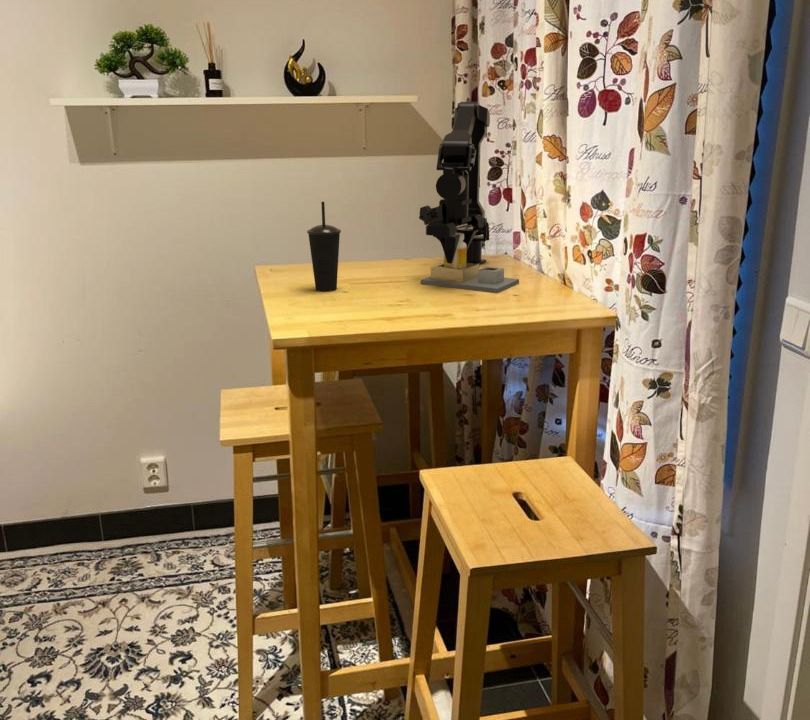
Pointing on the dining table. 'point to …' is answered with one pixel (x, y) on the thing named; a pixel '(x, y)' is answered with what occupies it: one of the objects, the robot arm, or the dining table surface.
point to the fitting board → (473, 284)
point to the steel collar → (491, 275)
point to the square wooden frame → (454, 273)
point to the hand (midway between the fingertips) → (455, 261)
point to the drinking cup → (324, 254)
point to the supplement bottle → (458, 255)
